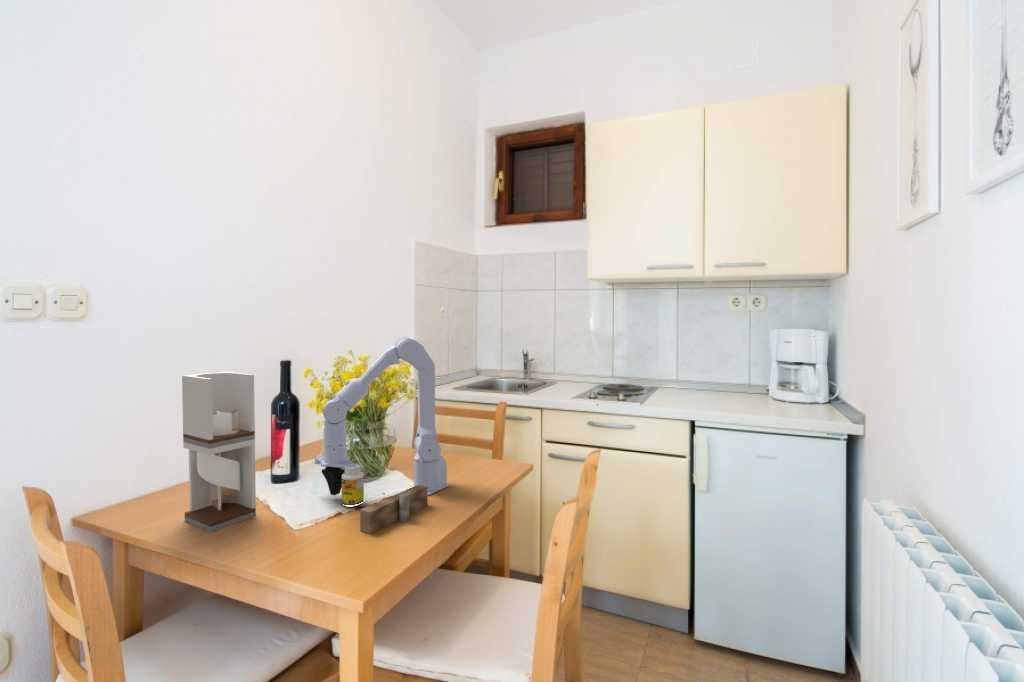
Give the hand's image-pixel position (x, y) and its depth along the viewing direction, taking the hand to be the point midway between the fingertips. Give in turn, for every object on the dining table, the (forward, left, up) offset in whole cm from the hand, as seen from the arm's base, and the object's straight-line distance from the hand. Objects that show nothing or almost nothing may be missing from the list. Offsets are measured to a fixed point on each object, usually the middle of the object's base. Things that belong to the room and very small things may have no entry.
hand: (335, 494), depth 129 cm
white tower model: (+23, -13, -2) cm, 27 cm away
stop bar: (0, +24, -1) cm, 24 cm away
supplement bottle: (0, +7, -2) cm, 7 cm away
